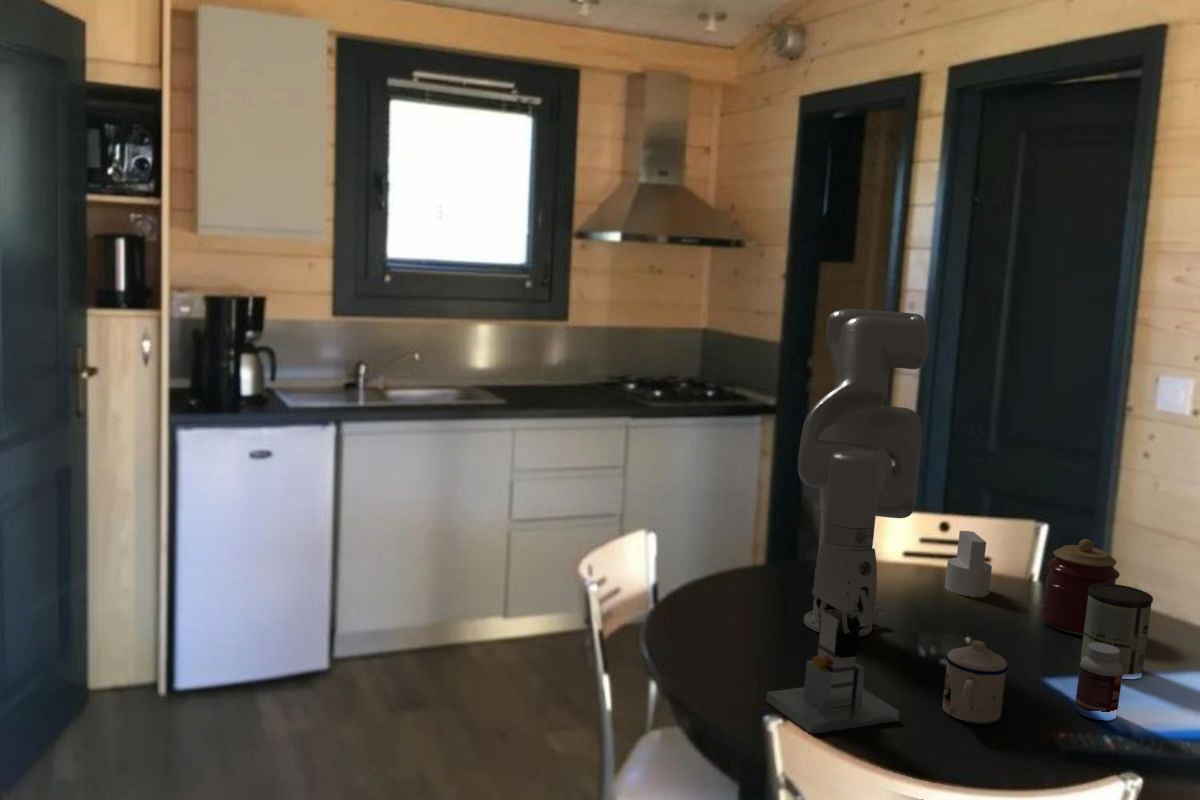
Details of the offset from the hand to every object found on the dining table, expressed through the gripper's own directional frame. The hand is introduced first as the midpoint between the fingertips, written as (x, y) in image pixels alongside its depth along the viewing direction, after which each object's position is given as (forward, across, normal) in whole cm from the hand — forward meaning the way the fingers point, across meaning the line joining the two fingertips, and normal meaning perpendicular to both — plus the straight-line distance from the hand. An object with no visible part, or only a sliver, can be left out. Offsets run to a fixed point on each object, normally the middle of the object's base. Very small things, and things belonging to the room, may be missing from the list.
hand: (837, 649), depth 168 cm
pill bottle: (+10, -13, -41) cm, 44 cm away
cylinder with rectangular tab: (+10, +44, -66) cm, 80 cm away
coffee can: (+10, +1, -60) cm, 61 cm away
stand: (+10, 0, 0) cm, 10 cm away
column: (+8, 0, 0) cm, 8 cm away
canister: (+10, +20, -72) cm, 75 cm away
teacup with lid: (+10, -8, -20) cm, 24 cm away
